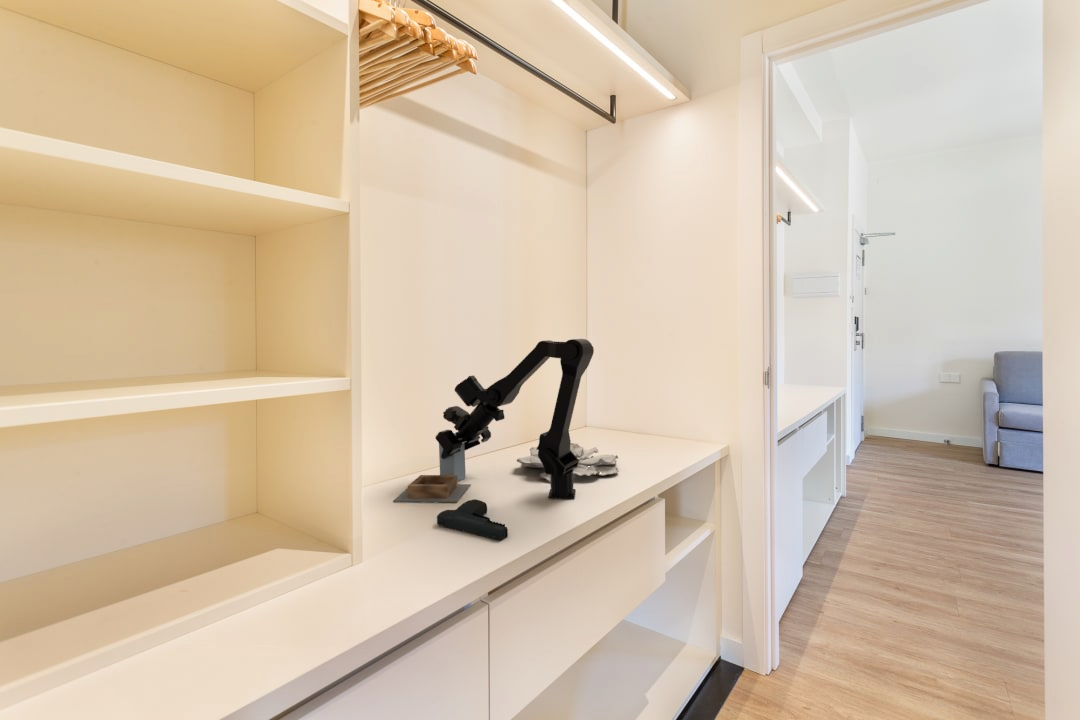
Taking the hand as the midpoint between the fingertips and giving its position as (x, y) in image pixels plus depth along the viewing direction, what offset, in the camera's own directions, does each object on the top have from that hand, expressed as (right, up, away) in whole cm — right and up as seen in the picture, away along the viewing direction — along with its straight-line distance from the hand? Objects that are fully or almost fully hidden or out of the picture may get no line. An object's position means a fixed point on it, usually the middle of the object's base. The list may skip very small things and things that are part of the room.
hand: (448, 455), depth 146 cm
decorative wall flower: (+34, -6, +8) cm, 36 cm away
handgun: (+14, -9, -35) cm, 38 cm away
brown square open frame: (-1, -7, -13) cm, 15 cm away
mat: (-1, -7, -13) cm, 15 cm away
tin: (+1, -7, 0) cm, 7 cm away
